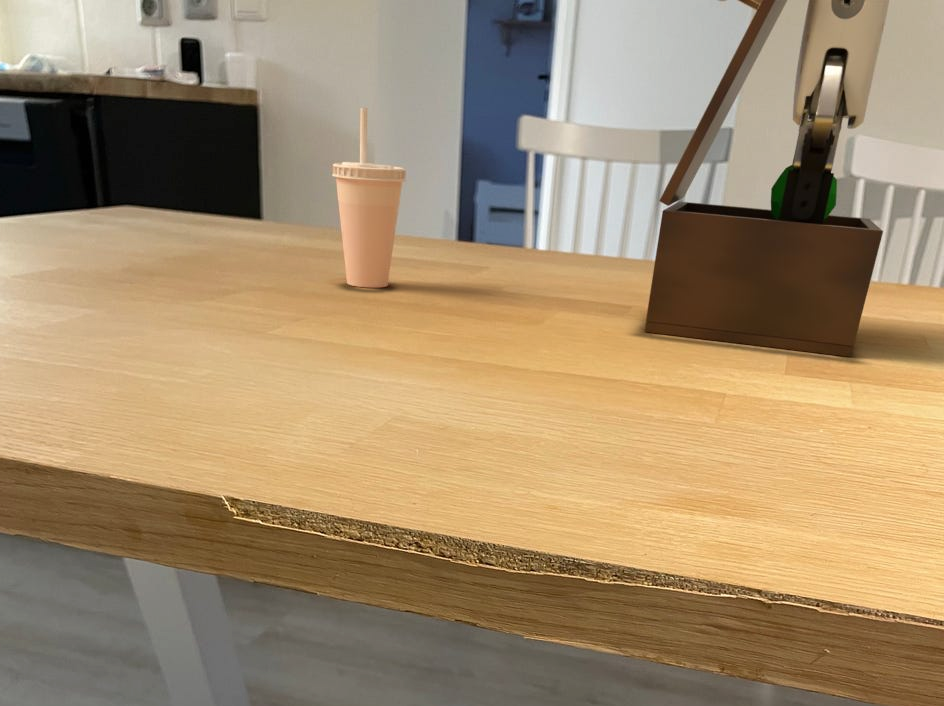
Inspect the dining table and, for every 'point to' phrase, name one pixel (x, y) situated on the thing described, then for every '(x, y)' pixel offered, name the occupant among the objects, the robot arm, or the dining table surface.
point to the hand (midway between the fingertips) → (798, 224)
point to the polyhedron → (778, 194)
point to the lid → (723, 96)
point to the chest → (761, 278)
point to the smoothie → (368, 215)
